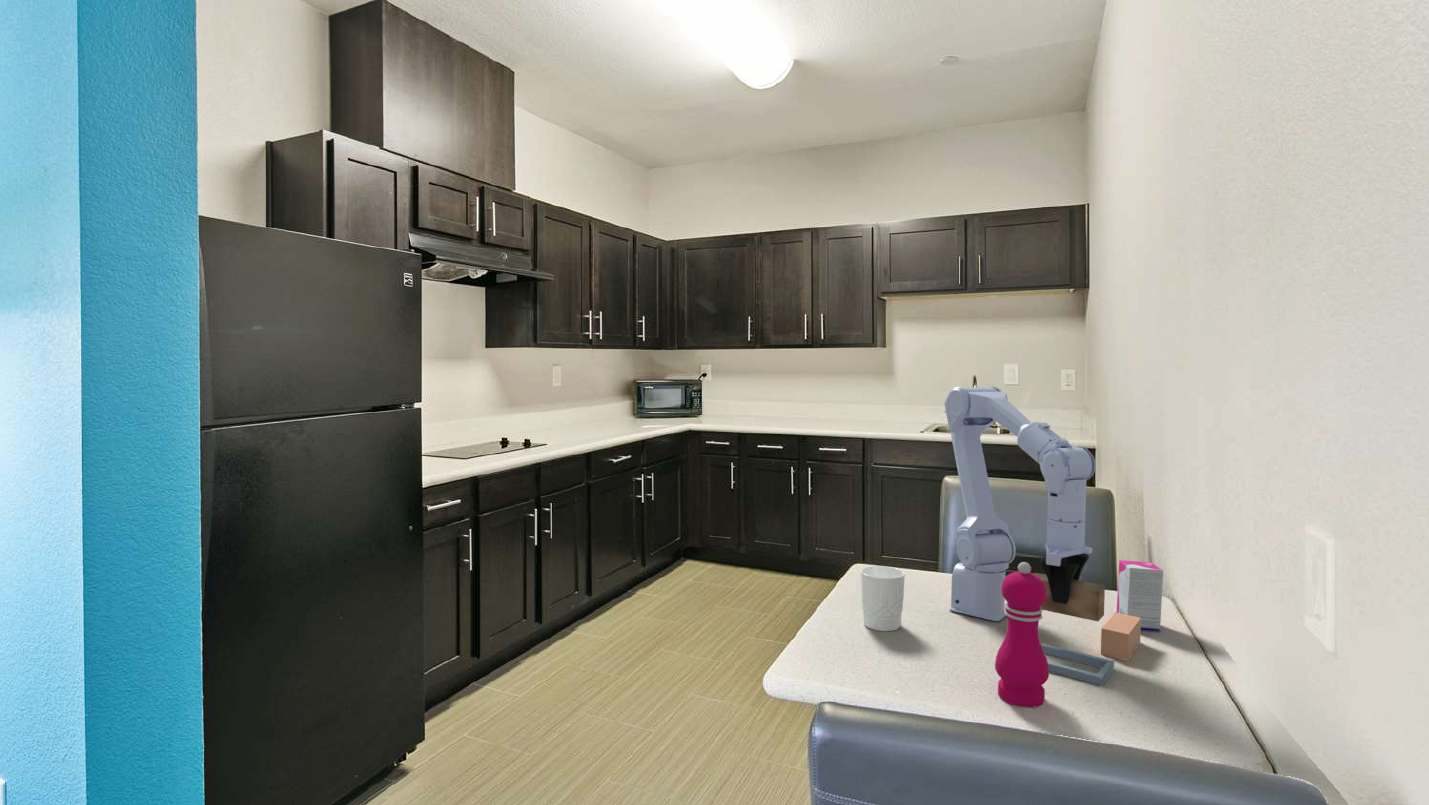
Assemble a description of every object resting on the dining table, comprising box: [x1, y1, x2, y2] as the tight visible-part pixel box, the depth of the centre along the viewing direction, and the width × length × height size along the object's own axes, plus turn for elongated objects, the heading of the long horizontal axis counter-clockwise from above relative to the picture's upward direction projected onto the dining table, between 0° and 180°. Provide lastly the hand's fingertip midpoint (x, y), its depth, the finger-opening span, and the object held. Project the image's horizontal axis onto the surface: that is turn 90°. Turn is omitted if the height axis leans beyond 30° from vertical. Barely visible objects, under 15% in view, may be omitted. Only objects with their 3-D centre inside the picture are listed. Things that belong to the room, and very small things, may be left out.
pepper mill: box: [994, 561, 1050, 708], centre depth 104 cm, size 7×7×20 cm
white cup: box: [860, 565, 906, 632], centre depth 133 cm, size 8×8×10 cm
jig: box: [1040, 642, 1115, 686], centre depth 116 cm, size 15×14×1 cm
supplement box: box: [1115, 559, 1164, 632], centre depth 133 cm, size 6×6×12 cm
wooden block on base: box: [1033, 572, 1106, 622], centre depth 120 cm, size 11×4×5 cm, turn 50°
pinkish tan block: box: [1100, 612, 1142, 661], centre depth 122 cm, size 4×10×5 cm, turn 139°
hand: (1063, 599), depth 121 cm, fingers closed on wooden block on base, 4 cm apart
